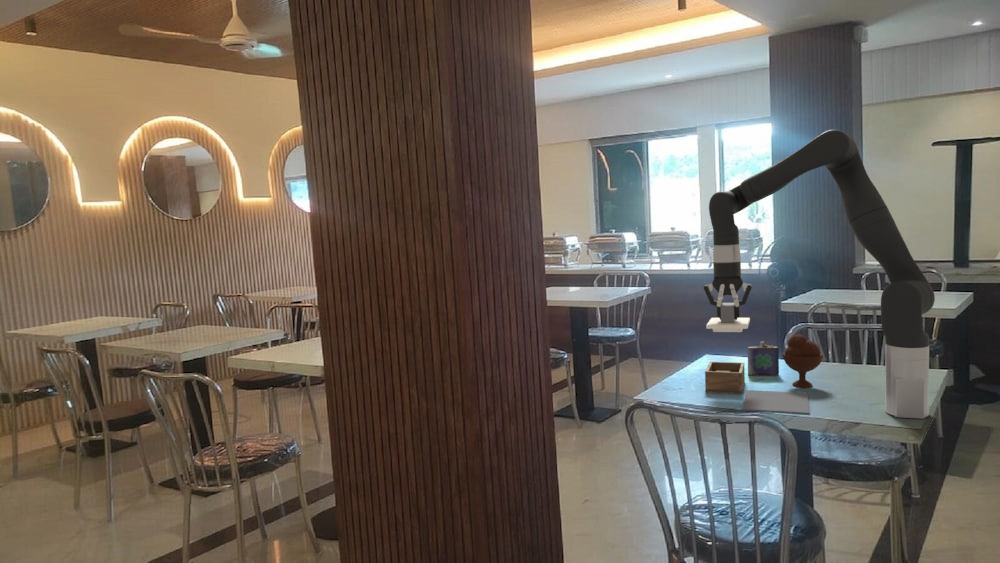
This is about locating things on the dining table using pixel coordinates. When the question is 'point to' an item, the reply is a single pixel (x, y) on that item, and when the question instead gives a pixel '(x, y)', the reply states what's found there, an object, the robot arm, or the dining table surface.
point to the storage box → (725, 377)
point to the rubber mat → (776, 402)
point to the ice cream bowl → (802, 358)
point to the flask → (763, 360)
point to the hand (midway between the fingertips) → (728, 318)
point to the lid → (728, 320)
